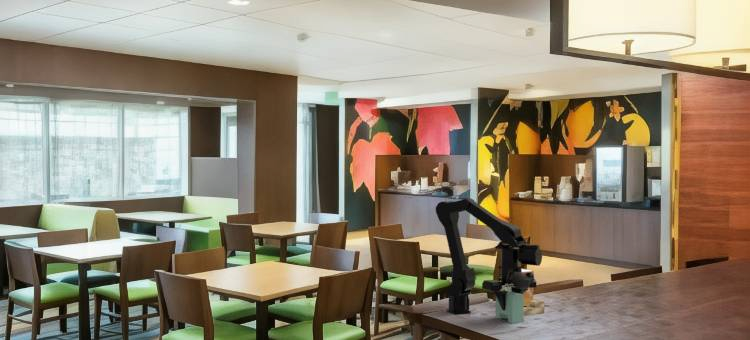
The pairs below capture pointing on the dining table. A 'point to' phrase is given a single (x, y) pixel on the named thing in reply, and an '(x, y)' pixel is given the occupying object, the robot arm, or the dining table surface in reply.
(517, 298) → the teal block
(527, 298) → the small box
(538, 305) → the maple rail
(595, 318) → the dining table surface
